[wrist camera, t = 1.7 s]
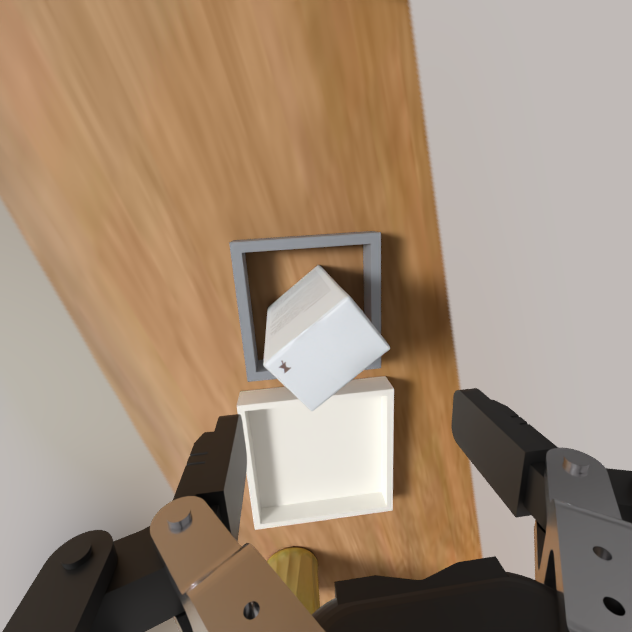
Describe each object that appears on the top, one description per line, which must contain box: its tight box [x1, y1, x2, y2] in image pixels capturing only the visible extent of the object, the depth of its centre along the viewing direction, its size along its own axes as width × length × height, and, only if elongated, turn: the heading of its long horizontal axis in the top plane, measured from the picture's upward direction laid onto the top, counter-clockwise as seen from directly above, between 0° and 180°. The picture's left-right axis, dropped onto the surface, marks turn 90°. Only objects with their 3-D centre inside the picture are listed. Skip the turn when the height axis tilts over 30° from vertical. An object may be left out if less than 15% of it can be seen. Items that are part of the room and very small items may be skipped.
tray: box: [237, 376, 394, 530], centre depth 33 cm, size 14×14×2 cm
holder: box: [229, 231, 381, 382], centre depth 28 cm, size 12×12×2 cm
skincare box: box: [263, 265, 390, 411], centre depth 24 cm, size 6×4×12 cm
